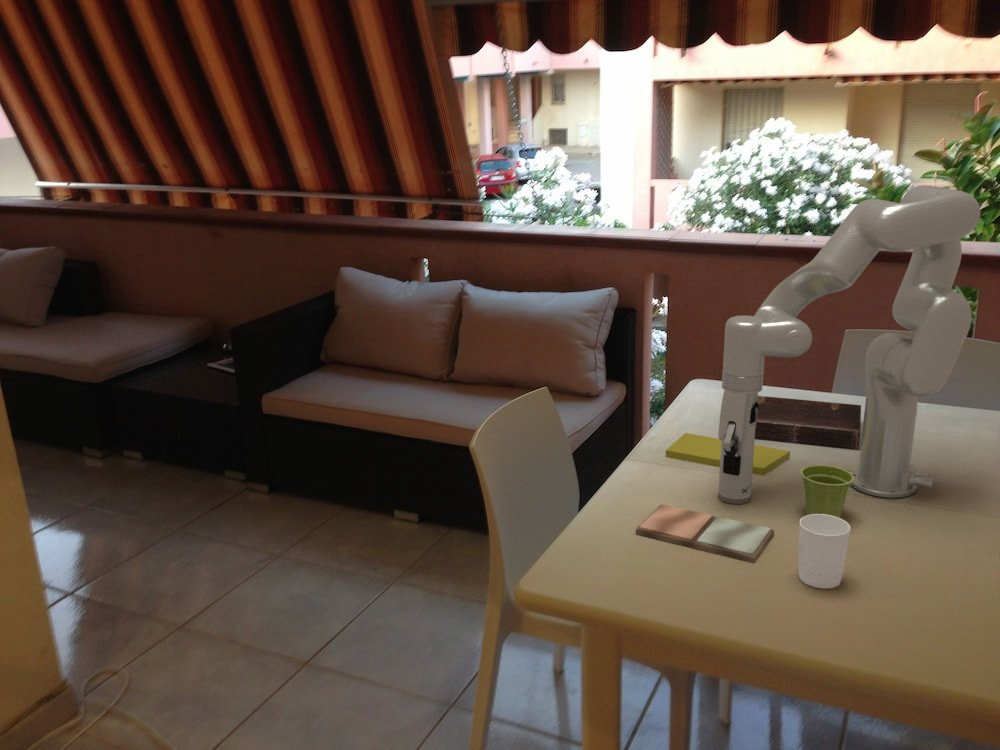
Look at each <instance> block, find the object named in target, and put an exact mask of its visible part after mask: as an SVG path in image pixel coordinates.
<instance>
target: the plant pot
mask: <svg viewBox="0 0 1000 750" xmlns="http://www.w3.org/2000/svg"><path fill="white" fill-rule="evenodd" d="M800 475H801V477H802V481H803V484H804V496H805V497H804V499H805V513H806V515H811V514H826V515H832V516H835V517H838V518H841V516H842V513H843V508H844V506H845V502H846V497H847V495H848V491H849V489H850V487H851V486H852V485H851V483H852V482H853V480H854V476H853V475H852V472H850V471H848V470H846V469H843V468H840V467H837V466H833V465H825V464H824V465H823V464H813V465H807V466H804V467H803V468H801V469H800Z"/></svg>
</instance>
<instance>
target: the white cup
mask: <svg viewBox="0 0 1000 750" xmlns="http://www.w3.org/2000/svg"><path fill="white" fill-rule="evenodd" d="M798 523H799V525H798V527H799V528H798V578H799V580H800V581H802V582H803V583H804V584H805V585H806V586H810V587H812V588H817V589H824V590H827V589H834V588H837V587H839V586H840V585H841V583H842V580H843V574H844V573H843V572H844V569H845V567H846V566H845V564H846V559H847V554H848V547H849V543H850V542H849V539H850V533H851V529H852V527H851V525H850V524H849V522H847V520H845V519H843V518H841V517H840V518H838V517H835V516H832V515H826V514H811V515H807V514H806V515H804V516H802V517H801V518H800V520H799V522H798Z"/></svg>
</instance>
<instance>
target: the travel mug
mask: <svg viewBox="0 0 1000 750" xmlns="http://www.w3.org/2000/svg"><path fill="white" fill-rule="evenodd" d="M754 406H755V407H754V408H752V409H751V415H750V423H749V428H748V433H747V437H746V440H745V441H743V442H742V443H741V448H740V453H739V456H741V464H740V474H739V475H738V476H735V475H730V474H725V473H723V461H724V446H723V442H724V439H725V438H724V439H722V440H721V457H720V467H719V476H718V478H719V479H718V498H719V500H721V501H722V502H724V503H727V504H730V505H731V504H732V505H744V504H746V503H749V502H750V500H751V498H752V484H753V474H752V471H753V456H754V445H755V440H756V439H755V426H756V424H755V423H756V407H757V409H758V408H759V406H758V403H757V402H756V403H755V404H754ZM726 433H727V432H726ZM725 435H726V434H725ZM738 439H739V437H737V436H734V437H733V440H738ZM732 444H733V445H732V446H734V447H735V449H736V446H737V444H736V443H732Z"/></svg>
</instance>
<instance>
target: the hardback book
mask: <svg viewBox="0 0 1000 750" xmlns="http://www.w3.org/2000/svg"><path fill="white" fill-rule="evenodd" d="M758 406H759V408H758V414H757V424H756V428H755V440H761V441H768V442H777V443H778V442H779V443H785V444H786V443H787V444H796V445H804V446H806V445H807V446H816V447H824V448H832V449H841V450H842V449H843V450H850V451H852V450H853V451H859V448H860V441H861V440H860V439H861V421H862V420H861V419H862V417H861V416H862V404H850V403H841V402H831V401H830V402H829V401H819V400H807V399H796V398H789V397H788V398H787V397H776V396H775V397H774V396H766V395H764V396H763V395H758Z"/></svg>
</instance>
